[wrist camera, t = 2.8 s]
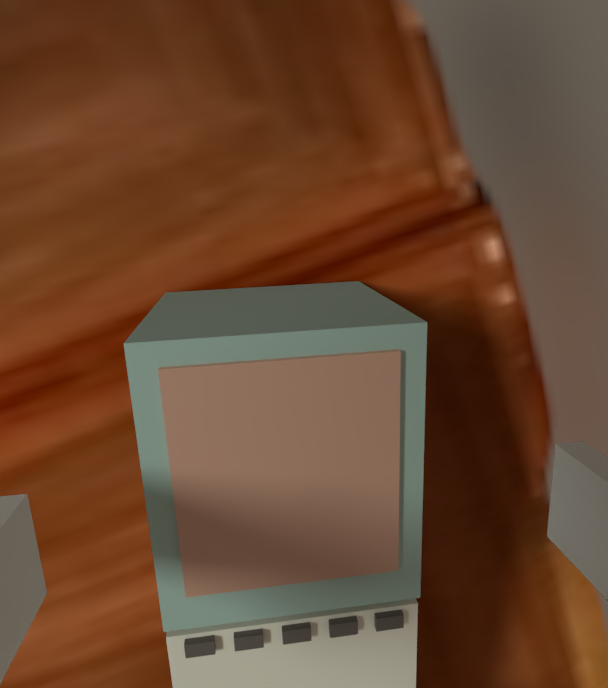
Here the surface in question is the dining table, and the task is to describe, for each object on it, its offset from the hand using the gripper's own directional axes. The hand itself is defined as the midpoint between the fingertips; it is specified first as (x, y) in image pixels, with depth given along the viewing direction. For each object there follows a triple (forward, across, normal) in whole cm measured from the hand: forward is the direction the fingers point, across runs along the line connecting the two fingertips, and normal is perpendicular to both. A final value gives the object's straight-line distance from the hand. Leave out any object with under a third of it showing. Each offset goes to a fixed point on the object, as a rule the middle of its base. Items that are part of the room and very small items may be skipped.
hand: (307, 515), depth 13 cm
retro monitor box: (+10, 0, 0) cm, 10 cm away
